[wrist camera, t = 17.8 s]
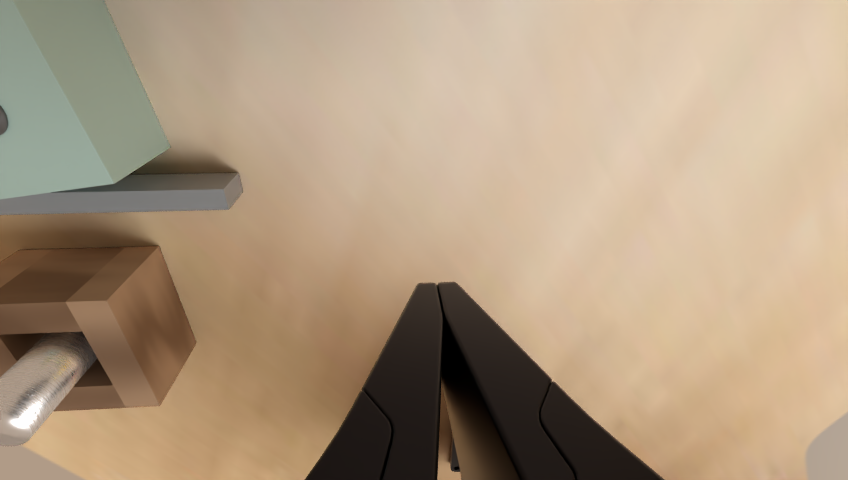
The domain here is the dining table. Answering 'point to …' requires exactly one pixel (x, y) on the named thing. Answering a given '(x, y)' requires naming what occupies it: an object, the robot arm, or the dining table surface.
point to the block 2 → (99, 319)
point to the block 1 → (69, 100)
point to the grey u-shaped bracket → (136, 195)
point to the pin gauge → (41, 383)
